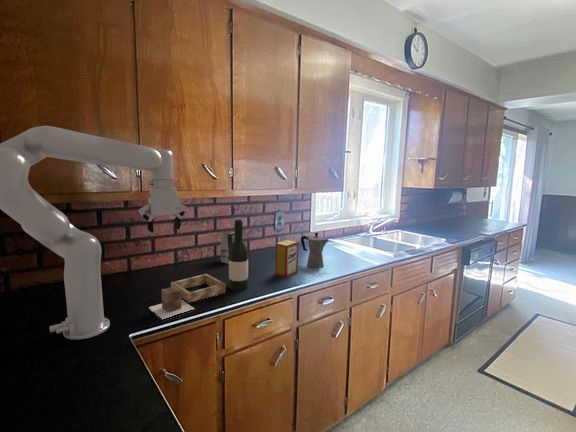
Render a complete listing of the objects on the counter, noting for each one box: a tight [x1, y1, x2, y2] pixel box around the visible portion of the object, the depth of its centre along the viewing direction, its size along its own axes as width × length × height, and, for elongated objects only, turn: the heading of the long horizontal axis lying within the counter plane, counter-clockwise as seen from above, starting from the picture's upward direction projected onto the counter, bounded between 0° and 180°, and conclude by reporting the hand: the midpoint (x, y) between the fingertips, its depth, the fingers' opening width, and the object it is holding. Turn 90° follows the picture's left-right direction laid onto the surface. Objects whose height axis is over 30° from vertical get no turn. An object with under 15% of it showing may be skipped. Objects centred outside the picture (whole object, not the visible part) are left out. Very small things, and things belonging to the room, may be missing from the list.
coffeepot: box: [300, 232, 329, 269], centre depth 171 cm, size 15×9×18 cm, turn 67°
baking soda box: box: [274, 239, 299, 278], centre depth 157 cm, size 10×6×16 cm
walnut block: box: [161, 286, 181, 312], centre depth 116 cm, size 5×5×7 cm
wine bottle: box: [228, 218, 249, 291], centre depth 137 cm, size 8×8×30 cm
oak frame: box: [170, 273, 226, 304], centre depth 133 cm, size 16×15×4 cm
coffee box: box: [220, 230, 235, 265], centre depth 174 cm, size 9×6×16 cm
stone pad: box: [148, 299, 196, 321], centre depth 117 cm, size 12×12×1 cm
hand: (164, 230), depth 119 cm, fingers open, 9 cm apart
